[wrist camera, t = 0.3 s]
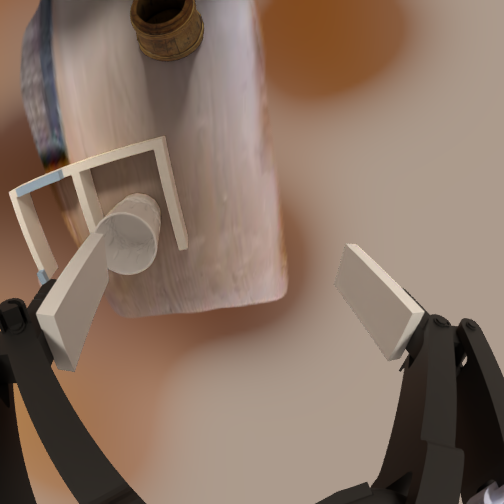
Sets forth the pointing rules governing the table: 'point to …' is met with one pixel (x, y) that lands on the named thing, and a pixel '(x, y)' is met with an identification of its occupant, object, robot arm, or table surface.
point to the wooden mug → (167, 28)
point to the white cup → (131, 234)
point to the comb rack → (92, 199)
